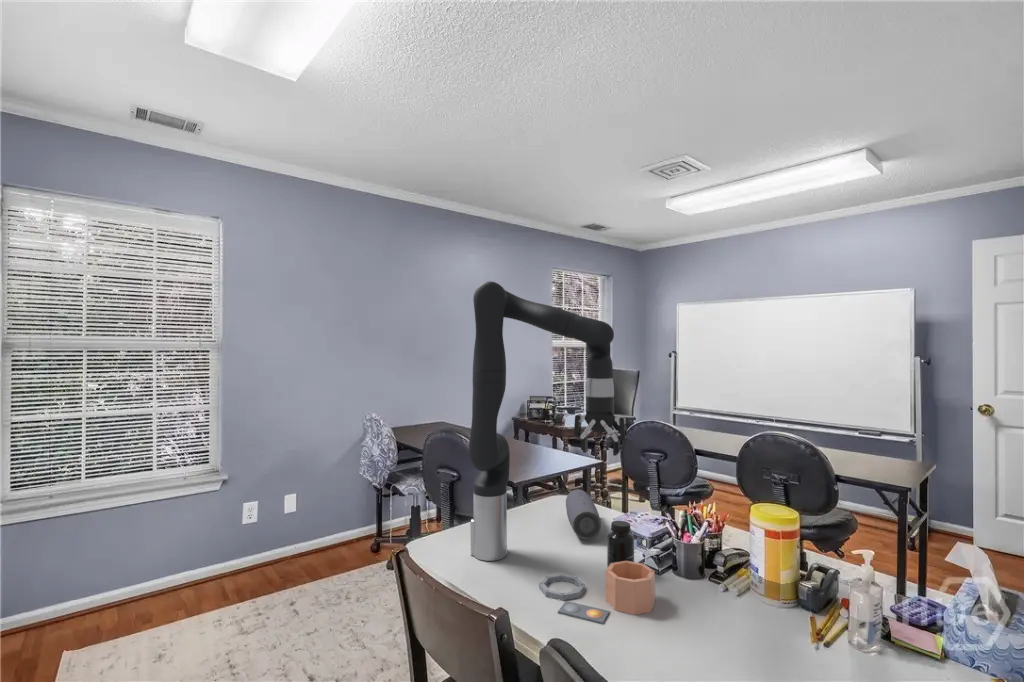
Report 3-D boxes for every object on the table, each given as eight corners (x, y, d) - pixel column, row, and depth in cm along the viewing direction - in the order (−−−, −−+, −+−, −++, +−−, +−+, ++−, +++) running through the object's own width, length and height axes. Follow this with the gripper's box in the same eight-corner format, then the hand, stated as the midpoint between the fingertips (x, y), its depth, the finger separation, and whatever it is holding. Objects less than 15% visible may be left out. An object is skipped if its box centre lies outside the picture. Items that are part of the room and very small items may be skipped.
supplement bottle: (634, 577, 126) (634, 529, 126) (607, 575, 127) (606, 527, 127) (633, 565, 133) (633, 519, 133) (607, 563, 134) (607, 518, 134)
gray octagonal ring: (534, 593, 118) (534, 588, 118) (550, 576, 127) (550, 571, 127) (575, 603, 113) (575, 598, 113) (588, 584, 122) (588, 579, 122)
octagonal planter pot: (602, 607, 112) (602, 575, 112) (614, 587, 120) (614, 558, 121) (648, 618, 107) (648, 585, 107) (657, 596, 116) (657, 566, 116)
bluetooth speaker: (603, 544, 147) (603, 509, 147) (571, 544, 147) (571, 509, 147) (592, 517, 170) (591, 487, 170) (564, 517, 170) (564, 487, 170)
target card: (557, 613, 109) (557, 610, 109) (565, 602, 114) (565, 600, 114) (602, 624, 105) (602, 621, 105) (609, 612, 109) (609, 610, 109)
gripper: (570, 394, 139) (571, 454, 138) (622, 396, 132) (622, 459, 132) (579, 392, 145) (579, 448, 145) (629, 394, 139) (629, 453, 139)
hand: (600, 453), depth 139 cm, fingers open, 8 cm apart
